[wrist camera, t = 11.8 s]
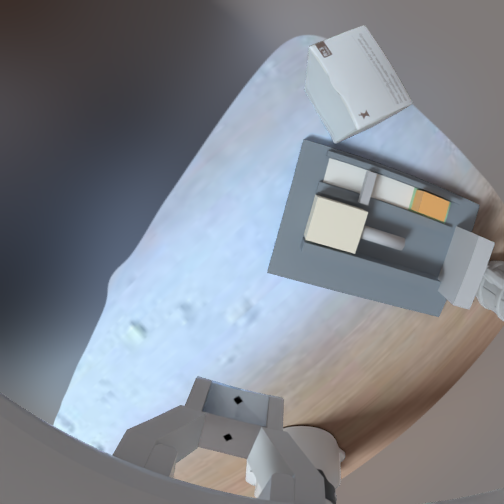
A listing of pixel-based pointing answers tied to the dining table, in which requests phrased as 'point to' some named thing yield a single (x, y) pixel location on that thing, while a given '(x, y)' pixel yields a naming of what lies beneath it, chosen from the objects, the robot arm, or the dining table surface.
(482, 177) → the dining table surface
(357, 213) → the cream block with rods
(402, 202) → the base
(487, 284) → the mug
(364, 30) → the skincare box
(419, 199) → the orange rectangular block
